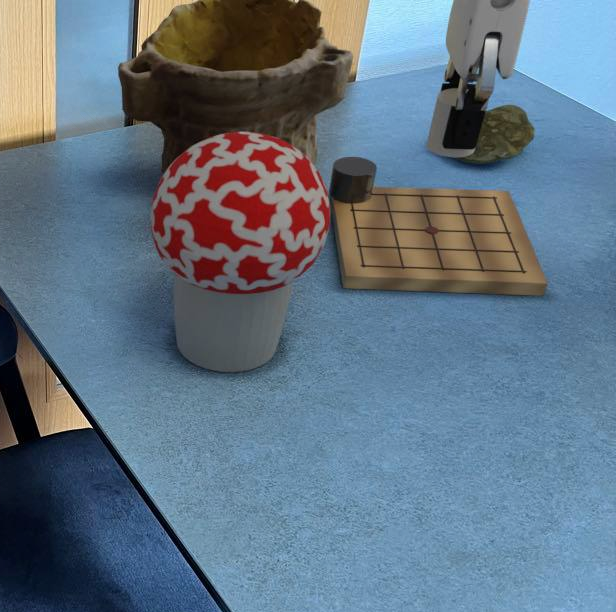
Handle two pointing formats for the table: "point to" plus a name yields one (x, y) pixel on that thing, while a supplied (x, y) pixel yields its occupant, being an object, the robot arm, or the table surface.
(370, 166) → the black stone
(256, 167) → the decorative object
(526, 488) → the table surface
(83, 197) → the table surface
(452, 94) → the beige cylinder
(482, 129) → the green rock
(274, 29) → the ceramic vessel
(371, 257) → the board
